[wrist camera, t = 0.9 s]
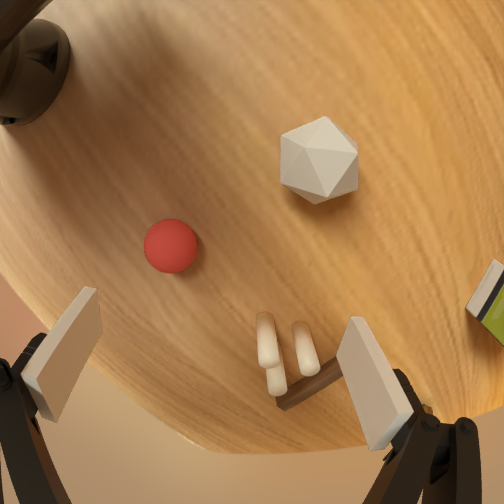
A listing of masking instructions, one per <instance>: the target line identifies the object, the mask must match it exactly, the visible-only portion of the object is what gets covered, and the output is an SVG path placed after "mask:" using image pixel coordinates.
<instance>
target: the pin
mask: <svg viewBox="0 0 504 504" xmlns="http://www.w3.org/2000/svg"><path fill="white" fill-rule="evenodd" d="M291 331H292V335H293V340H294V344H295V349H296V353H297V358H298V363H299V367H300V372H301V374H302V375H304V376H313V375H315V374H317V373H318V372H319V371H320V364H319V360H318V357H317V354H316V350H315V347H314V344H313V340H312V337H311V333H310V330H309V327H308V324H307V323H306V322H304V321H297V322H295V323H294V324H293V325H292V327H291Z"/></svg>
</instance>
